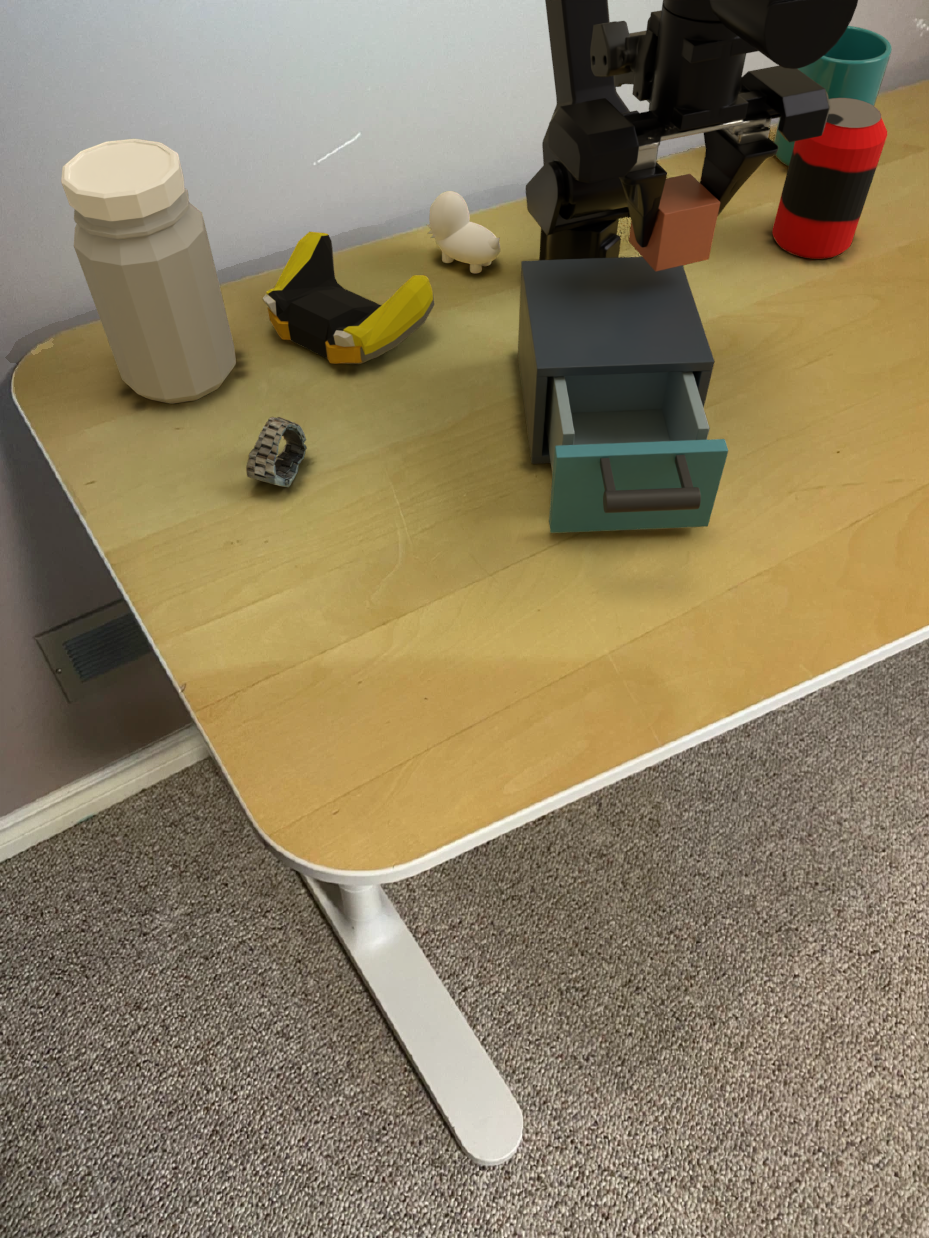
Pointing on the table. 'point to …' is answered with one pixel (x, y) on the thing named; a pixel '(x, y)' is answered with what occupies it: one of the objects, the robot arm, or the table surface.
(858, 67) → the cup
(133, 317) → the jar
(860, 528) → the table surface
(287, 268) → the gaming controller
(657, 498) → the drawer
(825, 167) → the soda can
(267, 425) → the wristwatch
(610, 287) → the small filing cabinet
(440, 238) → the toy creature
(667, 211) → the block
